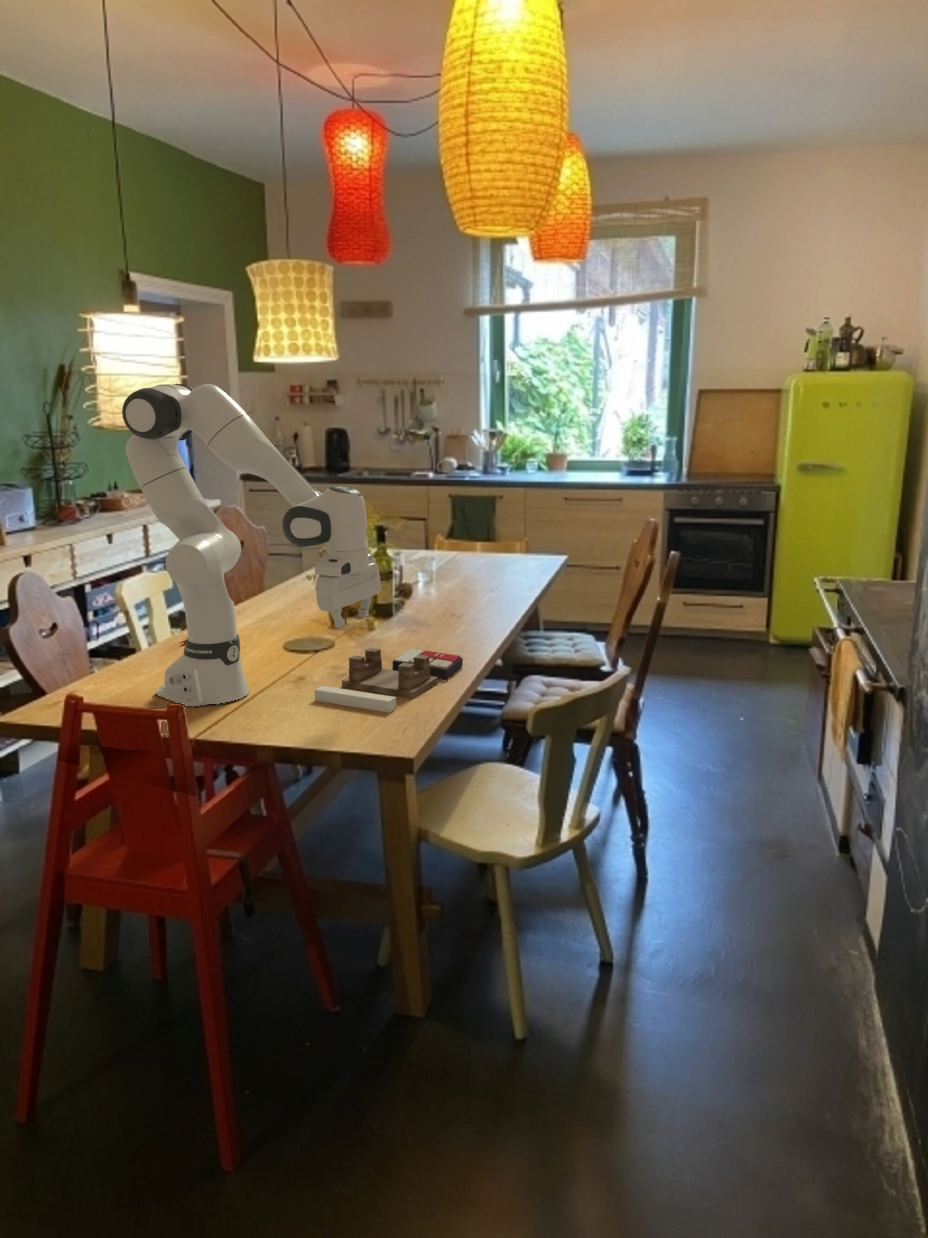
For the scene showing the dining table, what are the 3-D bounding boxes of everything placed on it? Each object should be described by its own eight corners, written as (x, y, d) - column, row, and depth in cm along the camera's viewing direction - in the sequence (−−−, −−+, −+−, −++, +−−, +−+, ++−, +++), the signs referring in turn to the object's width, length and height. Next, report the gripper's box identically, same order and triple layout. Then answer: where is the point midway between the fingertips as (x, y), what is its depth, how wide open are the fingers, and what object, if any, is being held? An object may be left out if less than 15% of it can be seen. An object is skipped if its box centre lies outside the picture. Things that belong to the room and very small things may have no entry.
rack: (342, 686, 214) (340, 658, 212) (369, 672, 224) (368, 645, 223) (412, 698, 205) (411, 669, 203) (438, 683, 215) (437, 655, 214)
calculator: (447, 667, 217) (392, 658, 222) (446, 683, 218) (391, 674, 223) (463, 654, 227) (410, 646, 232) (462, 670, 228) (409, 662, 233)
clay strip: (315, 701, 205) (314, 689, 204) (322, 697, 208) (321, 685, 207) (389, 714, 196) (389, 701, 196) (396, 709, 199) (396, 697, 198)
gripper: (362, 551, 204) (365, 609, 207) (309, 568, 186) (313, 631, 190) (386, 553, 201) (388, 612, 205) (334, 570, 184) (337, 634, 187)
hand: (352, 621), depth 197 cm, fingers open, 8 cm apart
